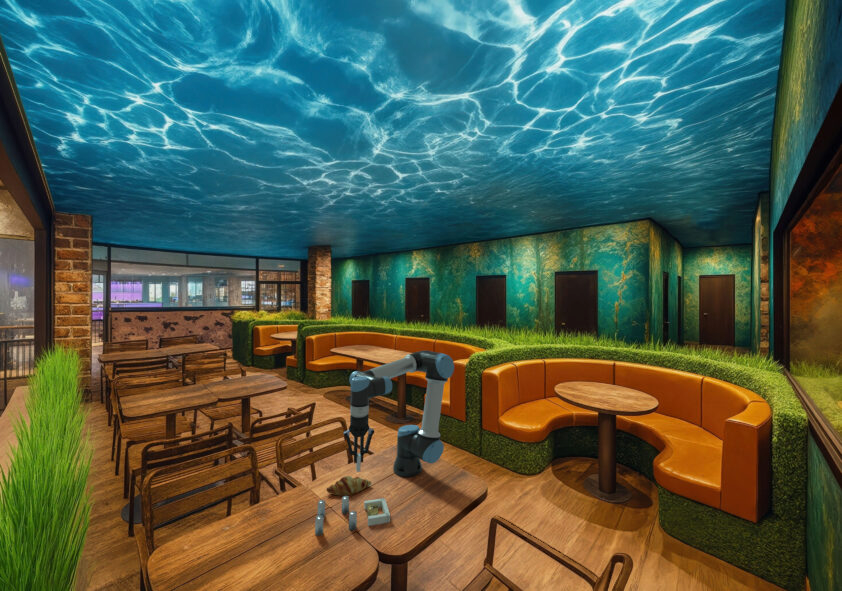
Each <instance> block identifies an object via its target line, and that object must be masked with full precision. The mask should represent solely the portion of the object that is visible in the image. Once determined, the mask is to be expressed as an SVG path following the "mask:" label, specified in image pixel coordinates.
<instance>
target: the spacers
mask: <svg viewBox="0 0 842 591" xmlns="http://www.w3.org/2000/svg"><path fill="white" fill-rule="evenodd" d="M341 513H342V514H344V515H347V514H348V515H349V516H348V530H349V531H355V530H356V529H357V522H358V520H357V518H358V517H357V516H358V513H357V511H355V510H352V511H350V497H349V495H344V496H343V495H342V497H341ZM325 517H326V500H324V499H320V500H318V502H317V515H316V517H315V523H314V526H315V530H314V534H315V536H317V537H318V536H320V537H321V536H322V535H323V533H324V518H325Z"/></svg>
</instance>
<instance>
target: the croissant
mask: <svg viewBox="0 0 842 591" xmlns="http://www.w3.org/2000/svg"><path fill="white" fill-rule="evenodd" d="M371 485H372V481H369V480H368V479H366V478H364V479H363V478H361V477H359V476H356V477H354V478H353V477H352V476H351V475H345V476H342V477H341V478H340V480H336V482H335V483H334V484H331V485H330V486H329V487H326V492H327V493H329V494H333V495H334V496H342V497H343V496H349V495H354V494H356V493H359V492H361V491H363V490H364V489H367V488H369V487H370V486H371Z"/></svg>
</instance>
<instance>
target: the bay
mask: <svg viewBox="0 0 842 591" xmlns="http://www.w3.org/2000/svg"><path fill="white" fill-rule="evenodd" d="M363 503H364V504H363V508H364V510H365V511H367V507H368V506H369V505H371V504H376V505H377V506H378V509H379V508H380V509H382V513H380V514H379V513H378V515H373V516H368V517H367V526H368V527H369V526H371V527H372V526H377V525H383V524H388V523H390V522H391V514H390V511H389V507H388V505H387V501H386V498H385V497H384V498H383V497H382V498H376V499H371V500H370V499H369V500H364V502H363Z"/></svg>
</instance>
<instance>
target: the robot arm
mask: <svg viewBox="0 0 842 591" xmlns="http://www.w3.org/2000/svg"><path fill="white" fill-rule="evenodd" d="M454 371H455V363H454V360H453V358H452V357H451V356H450V355H448V354H445V353H442V352H437V351H436V352H435V351H431V350H425V349H424V350H420V351H415V352H413V353H412V352H411V353H410V354H406V355H405V356H404V357H403V358H401V359H400V358H399V359H396V360H394V361H391V362H388V363H385V364H382V365H380V366H376V367H373V368H371V369H368V370H364V371H361V370H355V371H353V372H352V373H351V374H350V376H349V378H348V381H349V384H350V388H349V389H350V411H349V412H350V416H349V421H350V422H349V427H348V429H347V430H344V431H343V435H344V438H345V439H346V443H347V447H348V452H349V455H350V456H353V463H354V464H355V470H356V472H357V473H360V472H361V468H362V467H361V465H362V464H361V463H364V456H365V455H366V454H368V453H369V449H370V445H371V441H372V437H373V435H374V434H375V430H374V428H373V427H372V428H371V427H370V425H369V409H370V408H369V405H370V399H372V398H377V397H380V396H385V395H386V394H390V393H391V392H392V390H393V382H392V380H391V379H393V378H396V377H399V376H402V375H405V374H407V373H415V372H421V373H425V377H424V378H425V380H426V381H427V386H426V393H425V401H424V405H423V406H424V407H423V413H422V421H421V428H420V426H419V425H416V424H406V425H402V426H401V427H398V429H397V437H396V438H397V441H396V442H397V443H396V444H397V445H396V448H397V449H396V452H397V453H396V458H395V459H394V462H393V469H392V470H393V472H394V474H396V475H397V476H399V477H404V478H412V477H413V478H414V477H416V476H419V475H420V474H421V473H422V471H421V470H422V468H423V466H422V465H423V464H422V461H423V462H426V463H428V464H434V463H436V462H437V461H439V460H440V458H441V456H442V455H443V452H444V449H445V447H444V446H445V445H444V443H443V441H442V440H441V433H440V432H439V427H440V424H439V423H440V418H441V411H442V404H443V403H442V402H443V397H444V395H443V394H444V388H445V384H446V383H447V382H448V379H449V378H451V377H452V376H453V374H454ZM350 434H351V435H352V436H353V447H352V443H351V439H350ZM366 434H367V437H366V441H365V435H366ZM358 441H359V444H358ZM364 444H365V445H364ZM358 446H359V452H358ZM352 448H353V449H352ZM421 460H422V461H421Z"/></svg>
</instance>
